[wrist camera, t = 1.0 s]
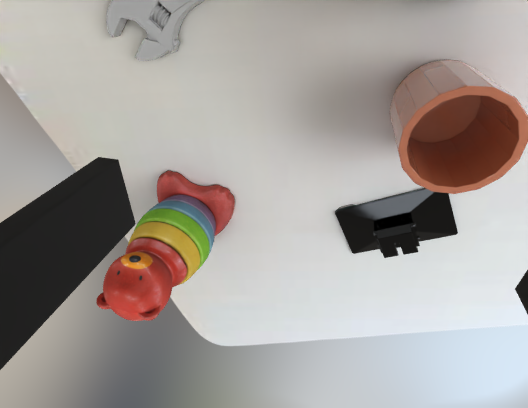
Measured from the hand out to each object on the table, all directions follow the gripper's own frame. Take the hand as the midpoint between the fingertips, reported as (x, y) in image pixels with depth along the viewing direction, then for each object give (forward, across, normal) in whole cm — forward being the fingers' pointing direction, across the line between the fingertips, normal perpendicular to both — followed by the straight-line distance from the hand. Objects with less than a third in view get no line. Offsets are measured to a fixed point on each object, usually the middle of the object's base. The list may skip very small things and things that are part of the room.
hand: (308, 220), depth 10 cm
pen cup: (+26, +9, -4) cm, 28 cm away
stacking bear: (+26, -17, -20) cm, 37 cm away
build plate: (+26, +9, -18) cm, 32 cm away
